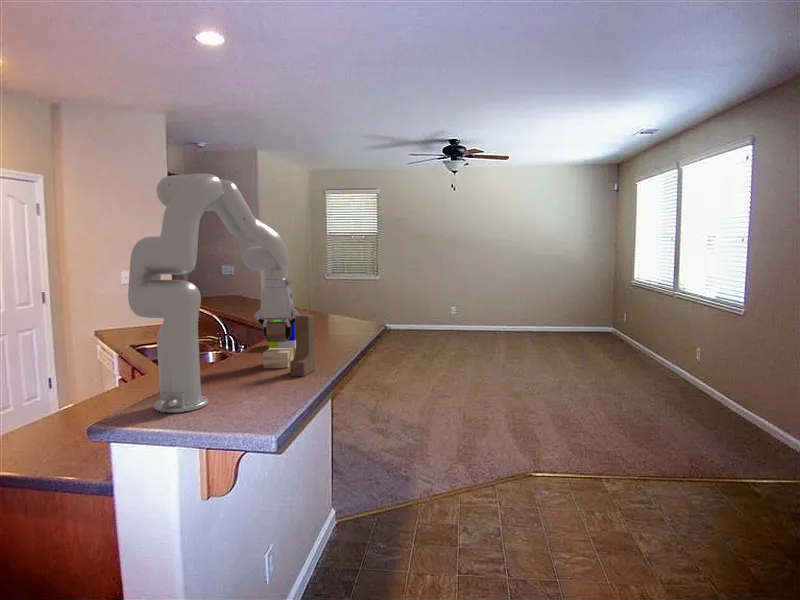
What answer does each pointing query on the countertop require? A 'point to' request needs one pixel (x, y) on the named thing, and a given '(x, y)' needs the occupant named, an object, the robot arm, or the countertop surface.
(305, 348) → the wooden block
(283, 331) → the walnut cube
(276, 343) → the puzzle toy
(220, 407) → the countertop surface
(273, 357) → the oak block
